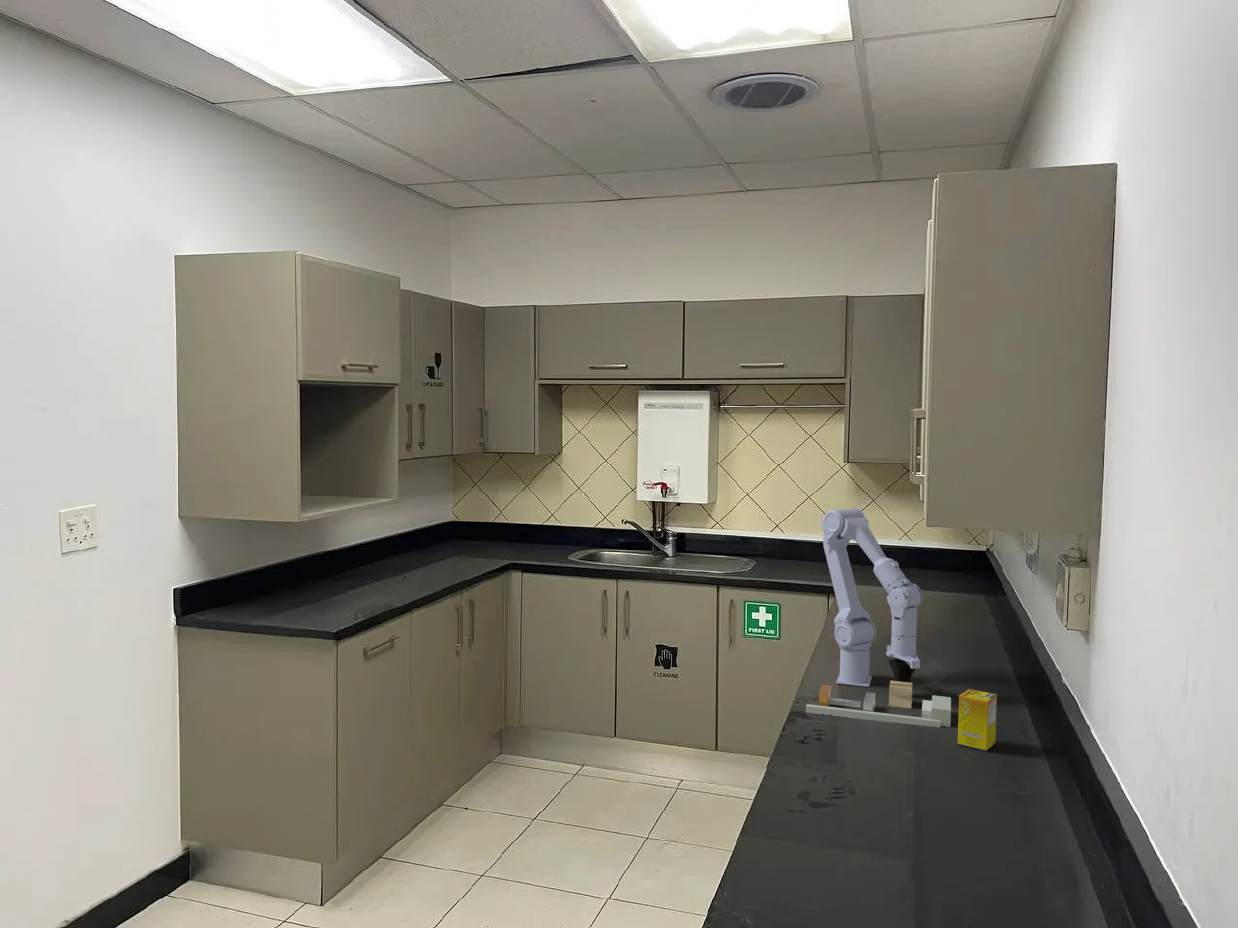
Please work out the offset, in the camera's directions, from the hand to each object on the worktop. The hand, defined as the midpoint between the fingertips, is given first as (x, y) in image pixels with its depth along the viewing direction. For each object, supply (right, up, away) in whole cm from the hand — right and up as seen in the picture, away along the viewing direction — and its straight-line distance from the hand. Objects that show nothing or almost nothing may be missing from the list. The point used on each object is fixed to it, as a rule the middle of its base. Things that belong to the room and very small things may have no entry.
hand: (902, 690), depth 223 cm
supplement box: (+5, -4, -33) cm, 34 cm away
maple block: (-2, -2, -6) cm, 7 cm away
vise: (-9, -2, -13) cm, 16 cm away
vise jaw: (-16, -2, -10) cm, 19 cm away
